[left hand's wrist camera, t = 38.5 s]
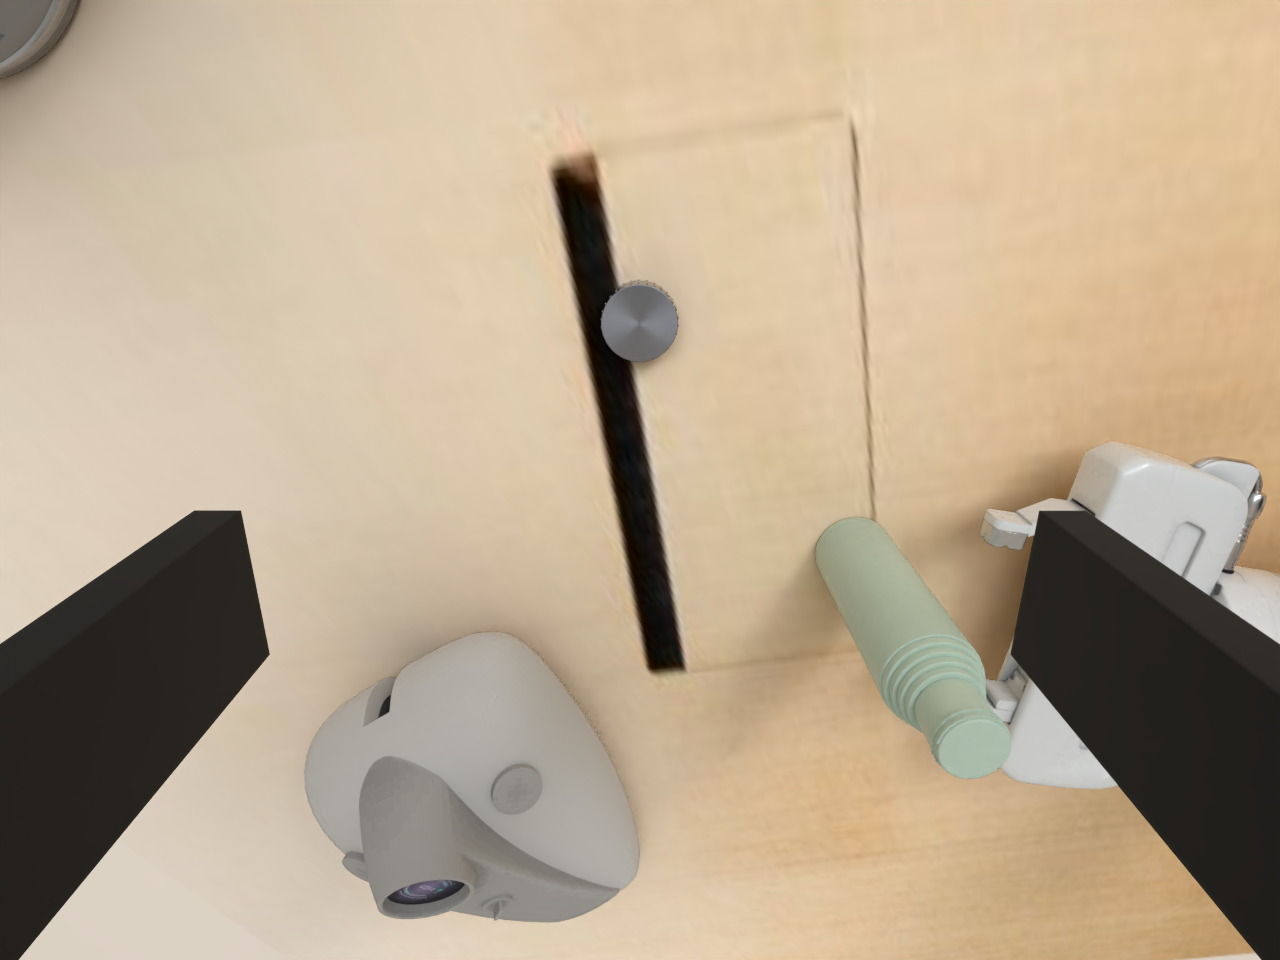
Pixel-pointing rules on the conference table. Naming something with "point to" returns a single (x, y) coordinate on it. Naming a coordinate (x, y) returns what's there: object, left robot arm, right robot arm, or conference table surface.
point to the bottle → (912, 648)
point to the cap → (639, 321)
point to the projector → (473, 789)
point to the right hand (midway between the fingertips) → (959, 603)
